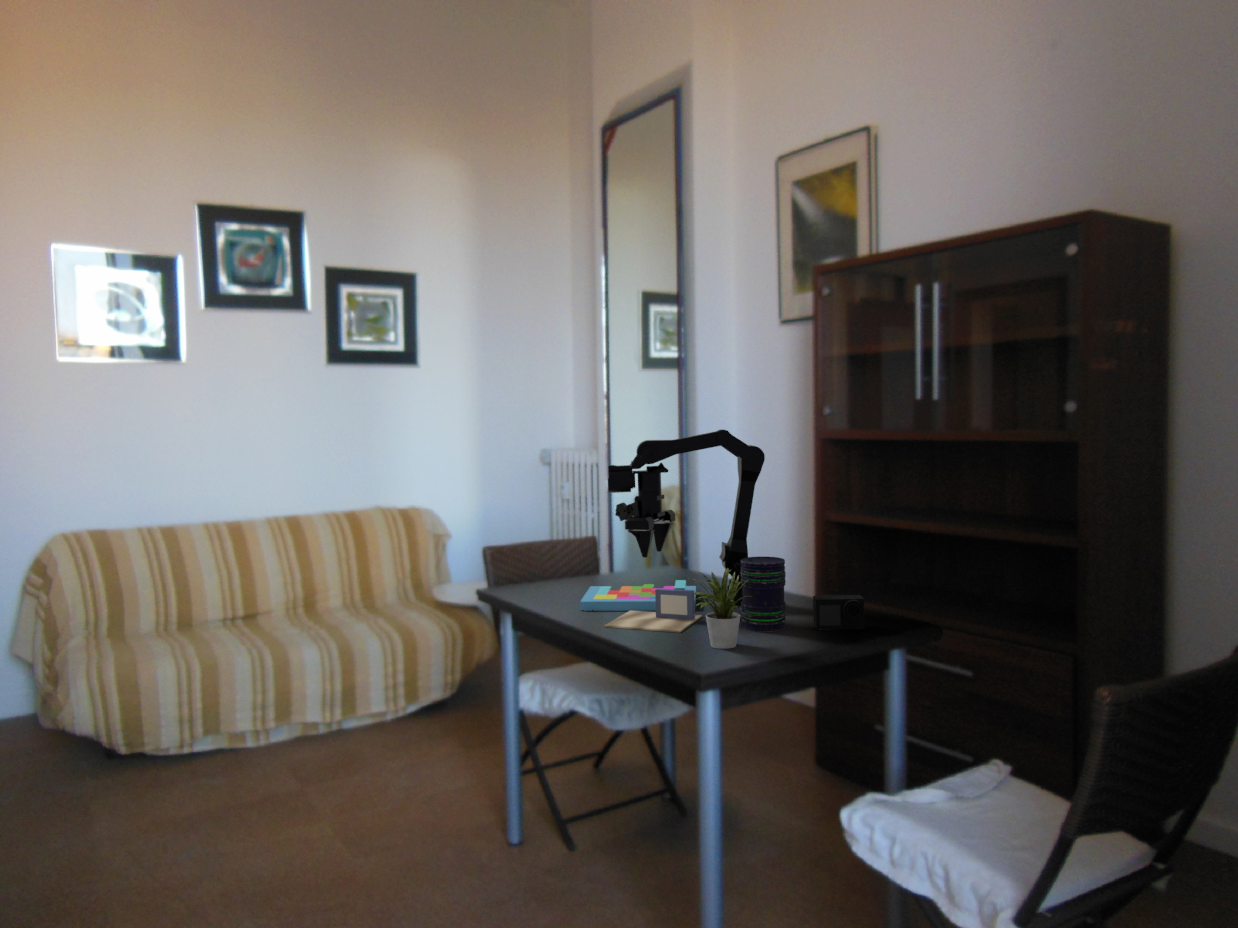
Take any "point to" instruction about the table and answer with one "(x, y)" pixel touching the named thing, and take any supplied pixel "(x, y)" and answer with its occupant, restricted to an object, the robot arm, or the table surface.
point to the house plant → (721, 611)
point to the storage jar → (763, 594)
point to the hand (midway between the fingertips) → (652, 554)
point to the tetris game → (626, 597)
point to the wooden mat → (650, 622)
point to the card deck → (675, 604)
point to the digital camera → (838, 611)
